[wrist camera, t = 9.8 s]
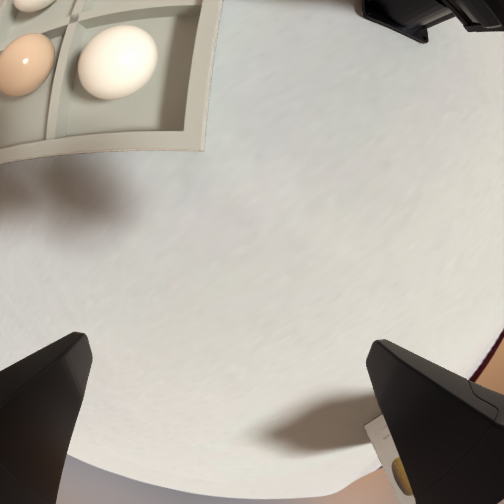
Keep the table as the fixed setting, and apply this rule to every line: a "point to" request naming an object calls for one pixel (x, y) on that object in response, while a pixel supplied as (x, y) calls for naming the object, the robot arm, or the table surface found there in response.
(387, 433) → the supplement box
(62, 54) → the carton
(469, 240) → the table surface
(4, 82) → the brown egg
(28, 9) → the egg
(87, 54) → the egg
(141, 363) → the table surface
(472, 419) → the robot arm
